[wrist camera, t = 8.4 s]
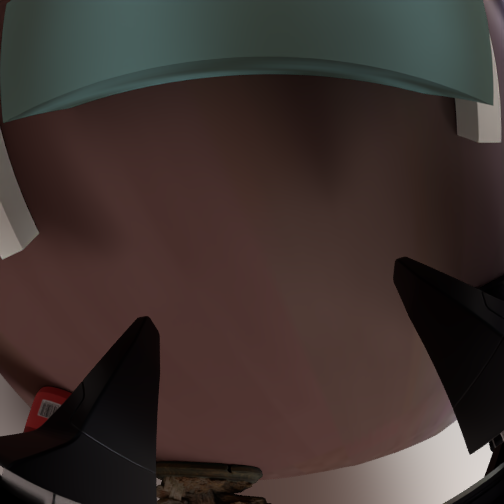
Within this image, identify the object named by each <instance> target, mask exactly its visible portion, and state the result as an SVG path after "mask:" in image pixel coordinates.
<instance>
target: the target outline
mask: <svg viewBox="0 0 504 504" xmlns="http://www.w3.org/2000/svg"><path fill="white" fill-rule="evenodd" d="M489 35H490V34H489ZM490 43H491V38H490ZM491 52H492V64H493V88H494V99H493V106H492V105H488V104H483V103H479V102H474V101H469V100H464V99H458V98H455V105H456V119H457V135H458V136H461V137H464V138H467V139H470V140H472V141H475V142H478V143H501V109H500V95H499V85H498V77H497V70H496V63H495V58H494V52H493V47H492V43H491ZM38 234H39V232H38V230H37V228H36V225H35V223H34V221H33V219H32V217H31V215H30V212H29V210H28V208H27V205H26V203H25V201H24V198H23V196H22V193H21V191H20V188H19V186H18V183H17V180H16V178H15V175H14V172H13V169H12V166H11V163H10V160H9V157H8V154H7V150H6V147H5V143H4V140H3V136H2V132H1V128H0V256H1V258H2V259H4V258H7V257H9V256H11V255H13V254H15V253H17V252H19V251H21V250H23V249H24V248H25V247H26V246H27V245H28V244H29V243H30V242H31V241H32V240H33V239H34V238H35V237H36V236H37V235H38Z"/></svg>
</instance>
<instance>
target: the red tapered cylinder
mask: <svg viewBox="0 0 504 504" xmlns="http://www.w3.org/2000/svg"><path fill="white" fill-rule="evenodd" d="M71 394H72V393H70V392H68V391H65V390H62V389H59V388H55V387H43V388H41V389H40V390H39V391H38V393H37V394H36V396H35V399H34V402H33V404H32V407H31V410H30V413H29V416H28V419H27V422H26V426H25V429H24V432H23V433H25V432H30V431H33V430H35V429H37V428H39V427H40V426H42V425H43V424H44V423H45V422H46V420H47V419H48V418H49V417H50V416H51V415H52V414H53V413H54V412H55V411H56V410H57V409H58V408H59V407H60V406H61V405H62V404H63V403H64V402H65V400H66V399H67V398H68V397H69V396H70V395H71Z"/></svg>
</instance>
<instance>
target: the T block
mask: <svg viewBox="0 0 504 504" xmlns="http://www.w3.org/2000/svg"><path fill="white" fill-rule="evenodd" d="M251 74H292V75H312V76H325V77H336V78H344V79H352V80H359V81H366V82H372V83H378V84H383V85H389V86H393V87H398V88H403V89H407V90H411V91H415V92H419V93H423V94H431V95H439V96H446V97H452V98H458V99H464V100H469V101H474V102H479V103H483V104H488V105H492V106H493V99H494V88H493V64H492V52H491V43H490V35H489V29H488V23H487V17H486V12H485V8H484V3H483V0H11V1H10V2H8V3H7V5H6V11H5V17H4V24H3V32H2V43H1V61H0V87H1V106H2V117H3V123H5V122H9V121H12V120H16V119H20V118H24V117H28V116H32V115H36V114H41V113H46V112H51V111H56V110H61V109H67V108H72V107H75V106H78V105H81V104H84V103H87V102H90V101H93V100H97V99H100V98H103V97H107V96H110V95H114V94H118V93H122V92H126V91H130V90H134V89H139V88H143V87H148V86H153V85H159V84H164V83H170V82H176V81H183V80H190V79H198V78H207V77H218V76H231V75H251Z"/></svg>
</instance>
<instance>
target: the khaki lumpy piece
mask: <svg viewBox="0 0 504 504" xmlns="http://www.w3.org/2000/svg"><path fill="white" fill-rule="evenodd" d="M227 469H228V466H227V465H225V464H220V463H200V462H174V461H165V462H158V463H157V464H156V473H155V474H156V478H158V479H160V480H162V482H161V485H158V486H156V491H157V497H158V498H160V499H159V500H158V501H157V504H271V503H266V500H265V498H263V497H254V496H251V497H250V496H242V495H237V494H234V493H239V492H242V491H243V490H245V489H248V488H250V487H252V484H254V483H256V482H257V481H258V479H260V478H261V477H262V476H263V474H262V471H261V470H260V469H259V468H256V467H253V466H245V465H240V466H237V465H232V466H231V471H232V473H229V472H228V471H227Z"/></svg>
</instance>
